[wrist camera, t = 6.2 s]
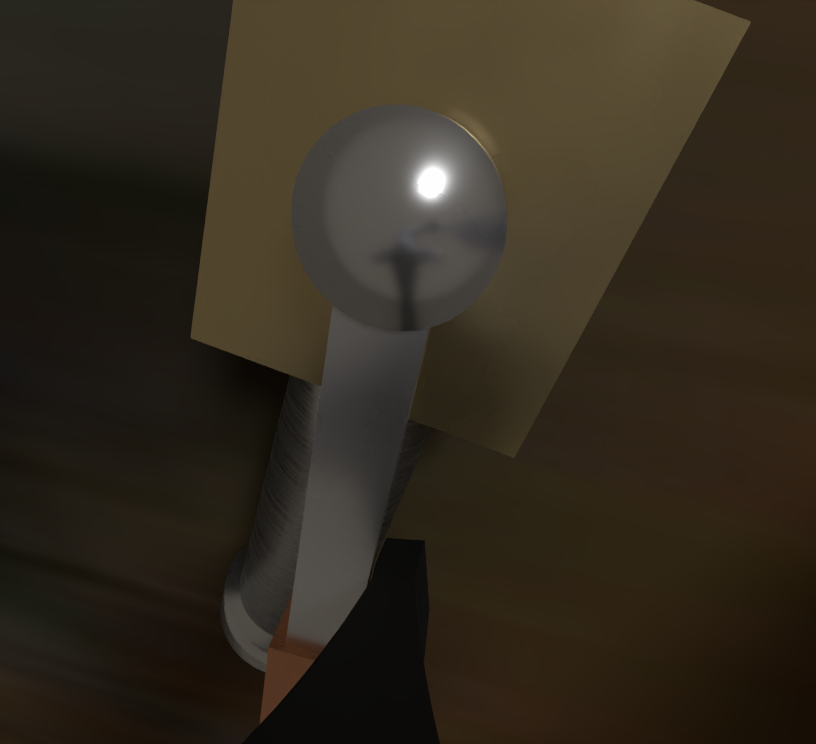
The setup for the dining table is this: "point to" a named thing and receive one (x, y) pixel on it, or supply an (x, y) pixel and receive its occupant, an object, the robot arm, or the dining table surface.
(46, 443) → the dining table surface
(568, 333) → the valve pipe
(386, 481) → the lever
